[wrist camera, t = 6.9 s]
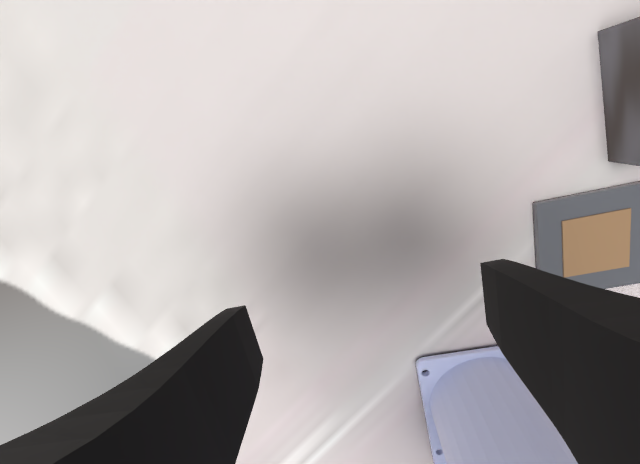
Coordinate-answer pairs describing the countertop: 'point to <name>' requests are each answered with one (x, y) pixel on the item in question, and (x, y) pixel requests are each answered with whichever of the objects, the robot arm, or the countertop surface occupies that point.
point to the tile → (591, 236)
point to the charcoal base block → (621, 90)
